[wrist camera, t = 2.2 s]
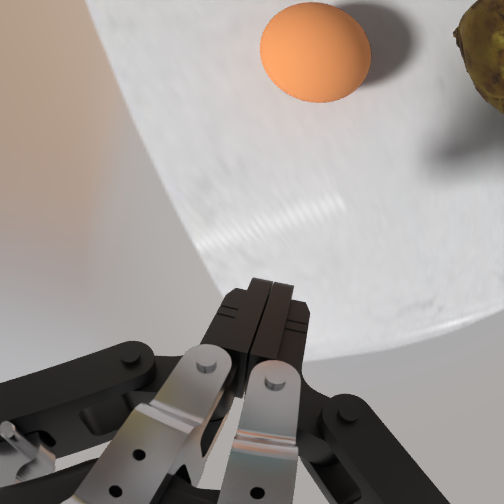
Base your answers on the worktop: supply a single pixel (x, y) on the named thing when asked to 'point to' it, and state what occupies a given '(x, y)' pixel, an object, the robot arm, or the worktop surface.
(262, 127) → the worktop surface
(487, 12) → the potato
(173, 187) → the worktop surface
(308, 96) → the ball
